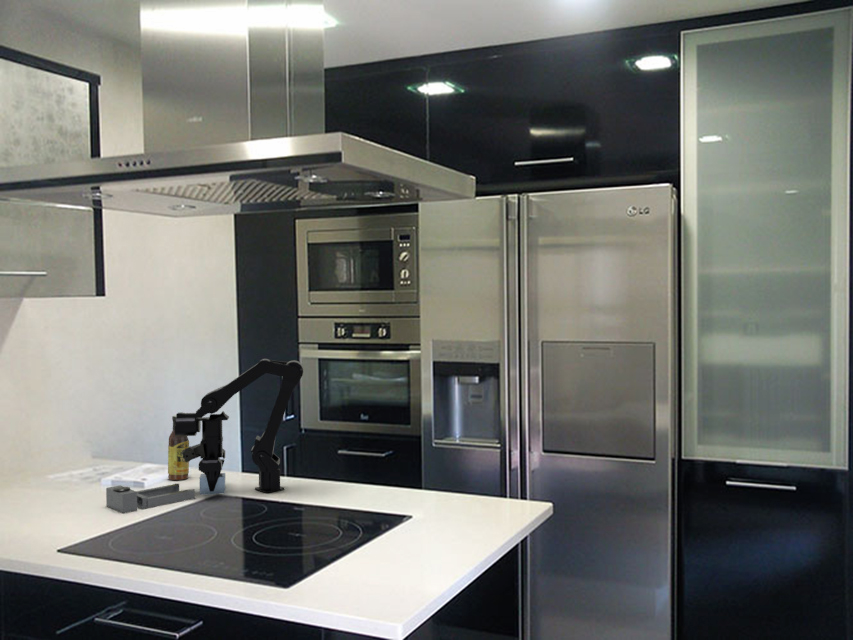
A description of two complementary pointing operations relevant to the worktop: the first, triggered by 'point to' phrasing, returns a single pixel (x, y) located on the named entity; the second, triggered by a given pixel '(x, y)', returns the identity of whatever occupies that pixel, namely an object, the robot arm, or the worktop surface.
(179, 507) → the worktop surface
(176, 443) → the sauce bottle
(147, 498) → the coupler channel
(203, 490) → the block
